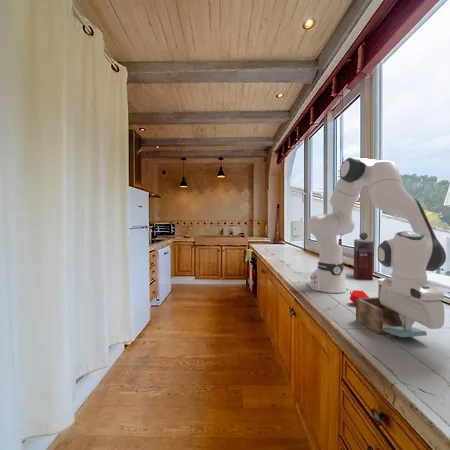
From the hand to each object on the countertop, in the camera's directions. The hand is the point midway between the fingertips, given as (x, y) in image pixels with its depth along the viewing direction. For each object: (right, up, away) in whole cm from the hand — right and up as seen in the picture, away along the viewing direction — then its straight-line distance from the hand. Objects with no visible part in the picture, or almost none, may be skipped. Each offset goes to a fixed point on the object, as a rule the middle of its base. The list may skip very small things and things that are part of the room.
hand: (406, 329), depth 80 cm
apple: (+2, -2, +32) cm, 32 cm away
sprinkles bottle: (+6, -3, +22) cm, 22 cm away
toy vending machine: (+28, -1, +78) cm, 83 cm away
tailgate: (-1, -2, +4) cm, 5 cm away
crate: (-1, -3, +10) cm, 11 cm away
